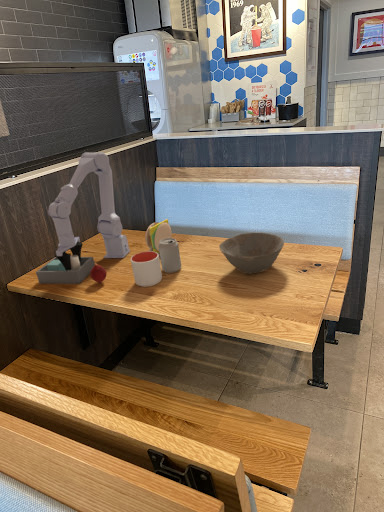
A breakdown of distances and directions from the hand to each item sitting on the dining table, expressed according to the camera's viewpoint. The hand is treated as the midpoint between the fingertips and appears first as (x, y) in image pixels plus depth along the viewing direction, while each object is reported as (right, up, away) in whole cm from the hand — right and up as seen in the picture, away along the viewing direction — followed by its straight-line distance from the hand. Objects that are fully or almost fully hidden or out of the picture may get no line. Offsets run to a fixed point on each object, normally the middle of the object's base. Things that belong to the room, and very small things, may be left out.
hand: (73, 265), depth 154 cm
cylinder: (0, -3, +2) cm, 4 cm away
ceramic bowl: (+69, -1, -11) cm, 70 cm away
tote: (-3, -4, +3) cm, 6 cm away
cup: (+31, -6, -11) cm, 33 cm away
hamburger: (+33, +6, +17) cm, 37 cm away
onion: (+12, -6, -7) cm, 15 cm away
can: (+39, -2, -3) cm, 39 cm away
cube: (-7, -3, +3) cm, 8 cm away
